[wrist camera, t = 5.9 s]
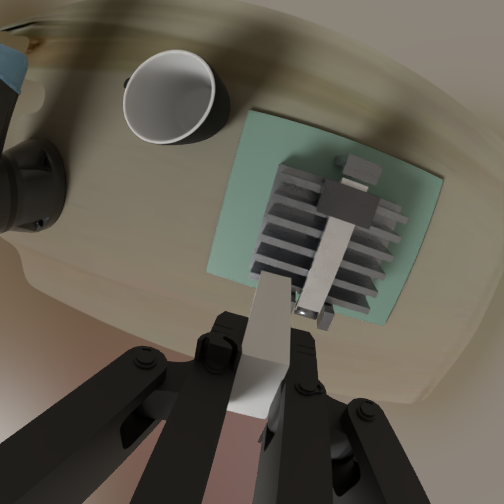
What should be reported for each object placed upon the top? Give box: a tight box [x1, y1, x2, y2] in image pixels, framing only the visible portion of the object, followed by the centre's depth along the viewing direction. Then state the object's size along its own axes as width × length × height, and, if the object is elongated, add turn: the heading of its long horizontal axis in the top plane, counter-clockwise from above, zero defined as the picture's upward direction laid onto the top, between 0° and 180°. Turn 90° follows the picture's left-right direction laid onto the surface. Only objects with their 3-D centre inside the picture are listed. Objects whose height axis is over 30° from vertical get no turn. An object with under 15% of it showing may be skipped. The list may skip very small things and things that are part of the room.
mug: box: [123, 50, 230, 145], centre depth 27 cm, size 12×9×10 cm
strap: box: [294, 177, 381, 320], centre depth 26 cm, size 5×14×1 cm, turn 164°
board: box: [206, 110, 443, 326], centre depth 33 cm, size 24×20×1 cm
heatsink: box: [248, 154, 409, 331], centre depth 29 cm, size 14×16×9 cm
